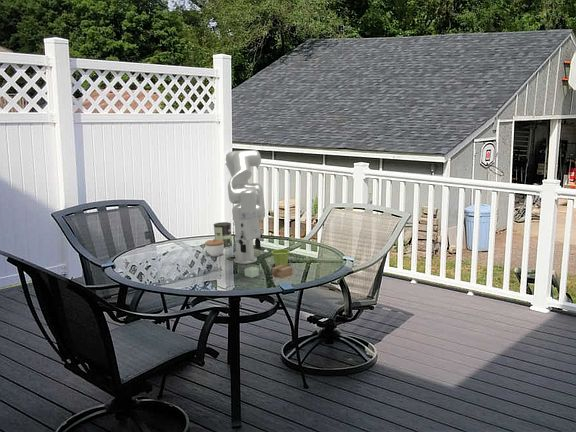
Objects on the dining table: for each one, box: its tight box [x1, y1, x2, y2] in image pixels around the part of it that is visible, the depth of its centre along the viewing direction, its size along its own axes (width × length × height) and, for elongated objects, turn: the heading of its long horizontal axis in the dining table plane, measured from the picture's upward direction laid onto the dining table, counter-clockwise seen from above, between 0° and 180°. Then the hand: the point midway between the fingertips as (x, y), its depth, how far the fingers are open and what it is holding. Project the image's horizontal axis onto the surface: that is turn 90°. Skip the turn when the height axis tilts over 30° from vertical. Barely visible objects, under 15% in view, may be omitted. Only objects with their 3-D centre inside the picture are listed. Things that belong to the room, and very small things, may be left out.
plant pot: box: [271, 248, 291, 267], centre depth 312 cm, size 9×9×9 cm
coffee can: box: [213, 221, 233, 249], centre depth 361 cm, size 10×10×14 cm
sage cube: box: [244, 266, 260, 278], centre depth 296 cm, size 5×5×5 cm
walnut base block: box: [271, 265, 293, 279], centre depth 294 cm, size 7×7×4 cm
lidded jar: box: [204, 238, 224, 257], centre depth 343 cm, size 11×11×9 cm
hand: (250, 250), depth 293 cm, fingers open, 9 cm apart
